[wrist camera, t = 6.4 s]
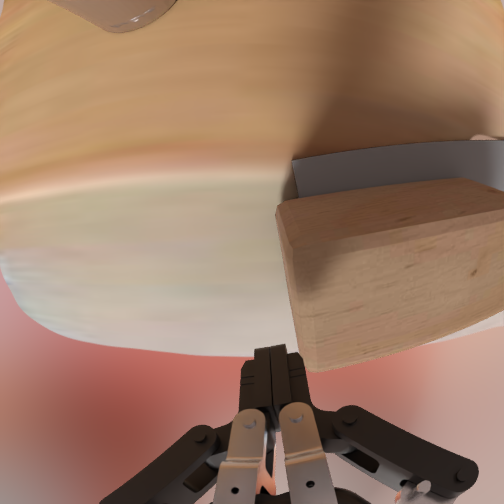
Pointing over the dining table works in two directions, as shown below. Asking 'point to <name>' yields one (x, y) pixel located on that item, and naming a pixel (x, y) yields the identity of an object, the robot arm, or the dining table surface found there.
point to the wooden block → (390, 267)
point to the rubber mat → (401, 166)
